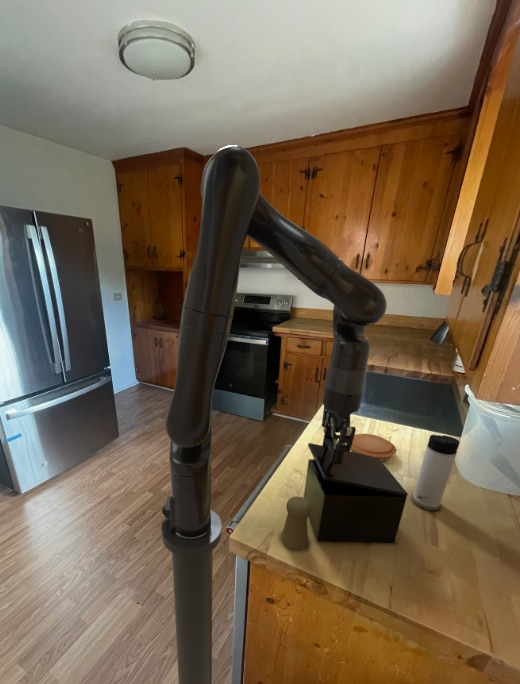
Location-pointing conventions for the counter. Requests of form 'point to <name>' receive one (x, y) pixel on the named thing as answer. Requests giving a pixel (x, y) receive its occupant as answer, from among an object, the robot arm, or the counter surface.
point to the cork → (296, 523)
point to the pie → (373, 446)
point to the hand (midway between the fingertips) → (331, 455)
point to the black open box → (351, 510)
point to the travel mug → (435, 471)
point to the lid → (355, 469)
